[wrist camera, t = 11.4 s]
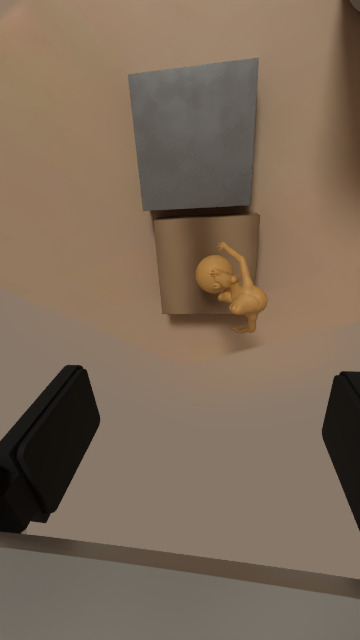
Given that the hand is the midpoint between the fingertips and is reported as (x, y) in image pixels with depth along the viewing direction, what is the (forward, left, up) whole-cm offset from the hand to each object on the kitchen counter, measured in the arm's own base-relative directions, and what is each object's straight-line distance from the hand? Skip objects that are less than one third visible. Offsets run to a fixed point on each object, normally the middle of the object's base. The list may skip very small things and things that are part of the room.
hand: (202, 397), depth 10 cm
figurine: (-1, +1, -22) cm, 22 cm away
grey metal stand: (+2, -11, -25) cm, 27 cm away
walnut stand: (+1, +1, -25) cm, 25 cm away
